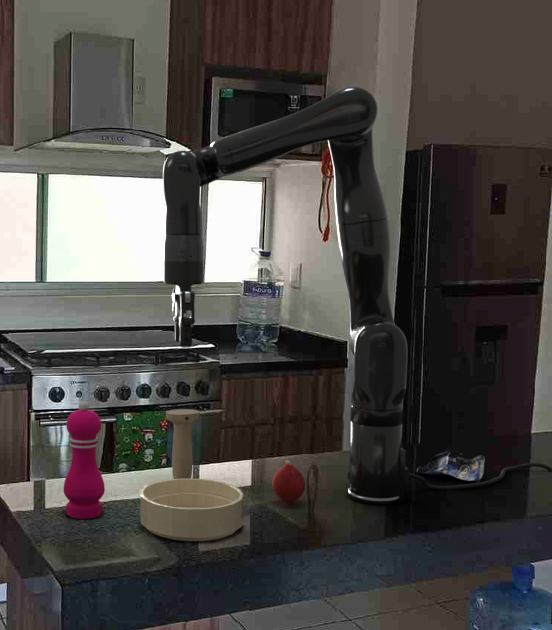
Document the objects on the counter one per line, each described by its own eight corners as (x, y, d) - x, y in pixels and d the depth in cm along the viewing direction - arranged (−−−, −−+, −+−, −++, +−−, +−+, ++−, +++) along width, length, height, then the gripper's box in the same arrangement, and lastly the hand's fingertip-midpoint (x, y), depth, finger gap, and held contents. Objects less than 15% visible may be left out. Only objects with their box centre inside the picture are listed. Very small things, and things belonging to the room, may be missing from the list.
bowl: (232, 507, 148) (233, 477, 148) (252, 541, 131) (252, 508, 131) (137, 509, 147) (137, 479, 147) (143, 544, 130) (143, 510, 130)
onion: (306, 501, 152) (307, 458, 151) (302, 510, 147) (303, 466, 146) (274, 498, 154) (275, 455, 153) (269, 507, 148) (270, 463, 148)
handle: (202, 490, 159) (202, 413, 157) (170, 493, 157) (170, 415, 156) (193, 483, 163) (193, 408, 162) (162, 486, 162) (162, 410, 160)
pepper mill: (73, 522, 140) (72, 406, 139) (57, 510, 147) (56, 399, 145) (111, 516, 144) (111, 402, 142) (94, 504, 150) (93, 395, 148)
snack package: (442, 487, 161) (494, 481, 163) (438, 454, 161) (491, 449, 164) (408, 481, 172) (457, 475, 175) (405, 450, 173) (454, 445, 176)
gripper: (208, 259, 150) (208, 348, 151) (198, 258, 164) (197, 339, 165) (167, 259, 149) (167, 349, 151) (160, 258, 163) (160, 340, 165)
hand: (183, 344), depth 158 cm, fingers open, 8 cm apart
